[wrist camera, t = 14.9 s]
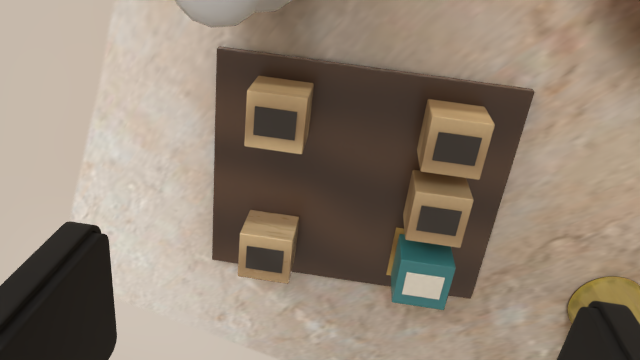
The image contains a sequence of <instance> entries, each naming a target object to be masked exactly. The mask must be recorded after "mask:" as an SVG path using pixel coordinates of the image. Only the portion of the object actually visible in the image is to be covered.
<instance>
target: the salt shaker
mask: <svg viewBox="0 0 640 360" xmlns="http://www.w3.org/2000/svg"><path fill="white" fill-rule="evenodd" d="M175 1H176V4H177V5H178V6H179V7H180V8H181V9H182V10H183V11H184V12H185V13H186V14H187V15H188V16H189V17H190V18H191V19H192V20H193V21H196V22H198V23H201V24H204V25H206V26H209V27H226V26H236V25H237V24H239V23H240V22H242V21H243V20H245V19H246V18H248V17H249V16H251V15H252V14H253V13H254V12H255V13H256V12H272V11H277V10H279V9H280V8H281V7H283V6H284V5H286V4H287V3H289V2H290V1H292V0H175Z"/></svg>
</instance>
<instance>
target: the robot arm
mask: <svg viewBox="0 0 640 360" xmlns="http://www.w3.org/2000/svg"><path fill="white" fill-rule="evenodd" d="M116 339H117V332H116V320H115V308H114V296H113V285H112V273H111V261H110V250H109V240H108V237H107V235H105V234H101V230H100V228H99V227H98V226H96V225H90V224H83V223H76V222H66V223H65V224H63V225H62V226H61V227H60V228H59V229H58V230H57V231H56V232H55V233H54V234H53V235H52V236H51V237H50V238H49V239H48V240H47V241H46V242H45V243H44V244H43V245H42V246H41V247H40V248H39V249H38V250H37V251H35V253H33V254H32V255H31V257H29V258H28V259H27V260H26V261H25V262H24V263H23V264H22V265H21V266H20V267H19V268H18V269H17V270H16V271H15V272H14V273H13V274H12V275H11V276H10V277H9V278H8V279H7V280H6V281H5V282H4V283H3V284H2V285H1V286H0V360H108V359H109V358H110V356H111V354H112V352H113V350H114V347H115V344H116ZM557 360H640V324H639V322H638V321H637V319H636V317H635V316H634V314H633V313H632V311H631V310H630V309H629V308H628V307H627V306H625V305H621V304H615V303H608V302H601V301H592V302H591V303H590V304H589V305H588V307H581V308H580V309H579V310H578V312H577V314H576V317H575V319H574V321H573V324H572V326H571V328H570V331H569V333H568V335H567V338H566V340H565V342H564V345H563V347H562V349H561V351H560V354H559V356H558V358H557Z"/></svg>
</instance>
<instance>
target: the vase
mask: <svg viewBox="0 0 640 360" xmlns="http://www.w3.org/2000/svg"><path fill="white" fill-rule="evenodd" d="M592 301H601V302H608V303H615V304H621V305H625V306H627V307H628V308H629V309H630V310H631V311H632V313H633V314H634V316H635V317H636V319H637V321H638V322H639V324H640V286H639V285H638V284H637V283H635V282H634V281H631V280H629V279H626V278H622V277H603V278H598V279H595V280H592V281H590V282H588V283H586V284H584V285H583V286H582V287H580V288H579V289H578V290H577V291H576V292H575V293H574V294H573V296H572V297H571V299H570V301H569V304H568V315H569V319H570V321H571V323H572V324H573V321H574V319H575V317H576V314H577V312H578V310H579V309H580V308H581V307H588V305H589V304H590V303H591V302H592Z"/></svg>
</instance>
